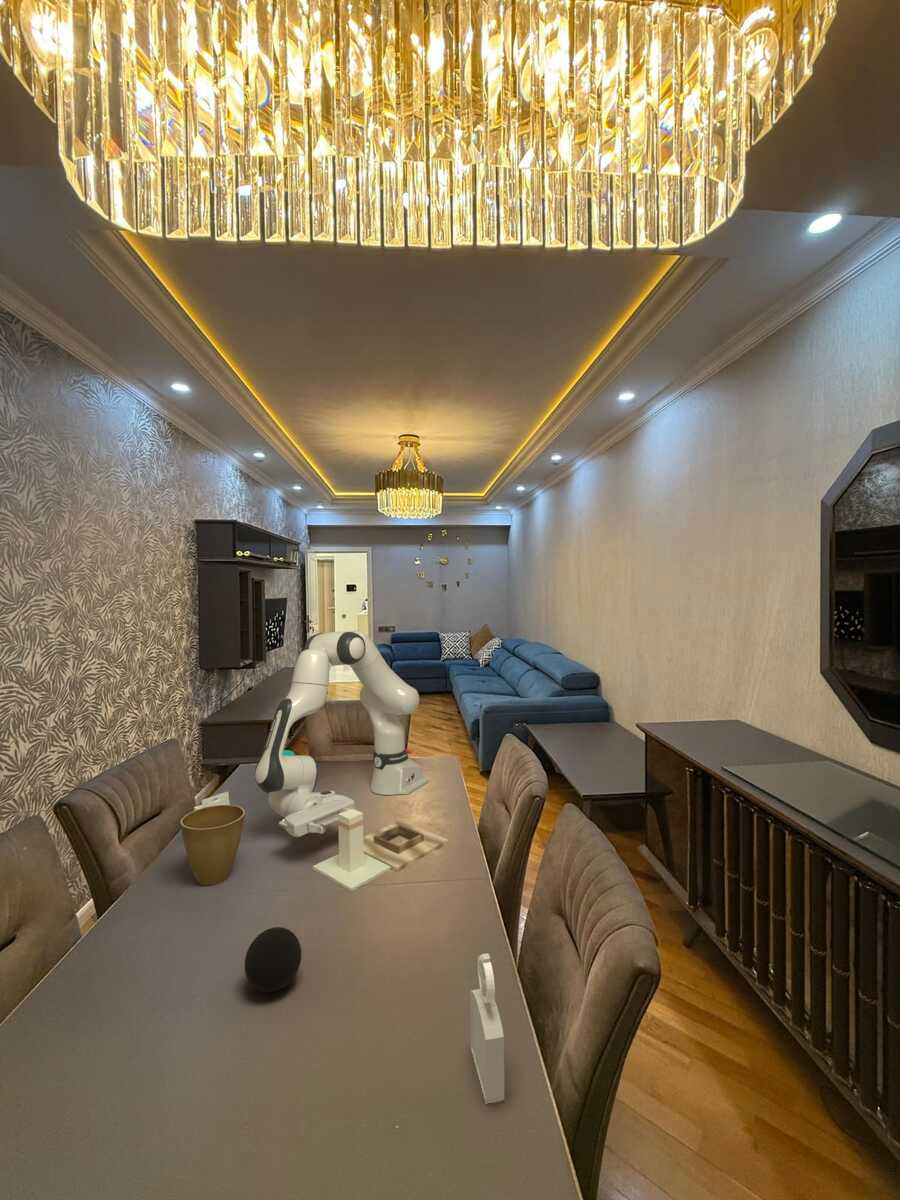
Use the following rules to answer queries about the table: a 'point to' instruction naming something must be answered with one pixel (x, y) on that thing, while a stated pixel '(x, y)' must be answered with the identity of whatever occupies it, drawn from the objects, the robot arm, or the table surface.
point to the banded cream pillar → (351, 840)
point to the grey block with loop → (487, 1034)
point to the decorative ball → (273, 959)
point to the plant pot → (212, 841)
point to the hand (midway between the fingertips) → (338, 823)
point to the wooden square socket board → (406, 852)
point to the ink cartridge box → (215, 801)
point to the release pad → (354, 878)
